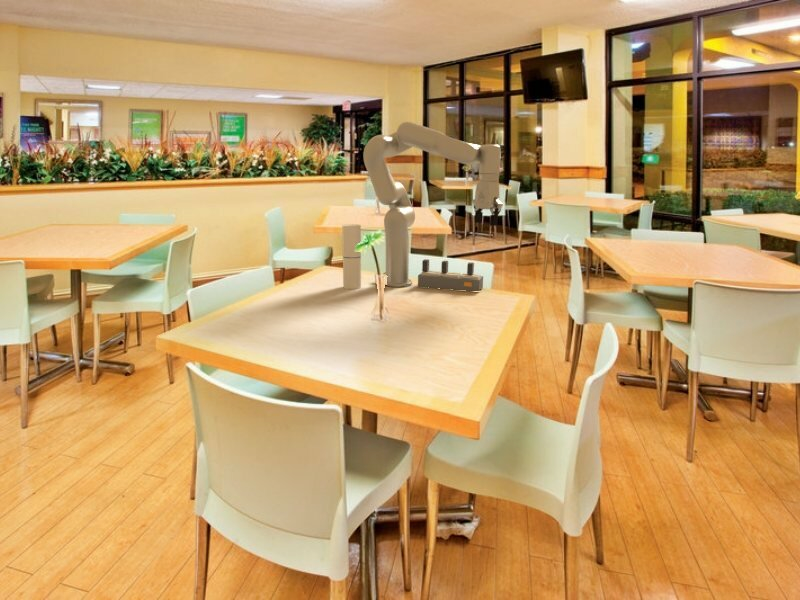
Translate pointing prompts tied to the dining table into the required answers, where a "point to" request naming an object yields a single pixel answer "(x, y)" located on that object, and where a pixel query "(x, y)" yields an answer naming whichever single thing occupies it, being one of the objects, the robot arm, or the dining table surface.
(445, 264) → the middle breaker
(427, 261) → the peg
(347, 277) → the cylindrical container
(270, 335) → the dining table surface
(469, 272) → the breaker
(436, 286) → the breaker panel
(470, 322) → the dining table surface
